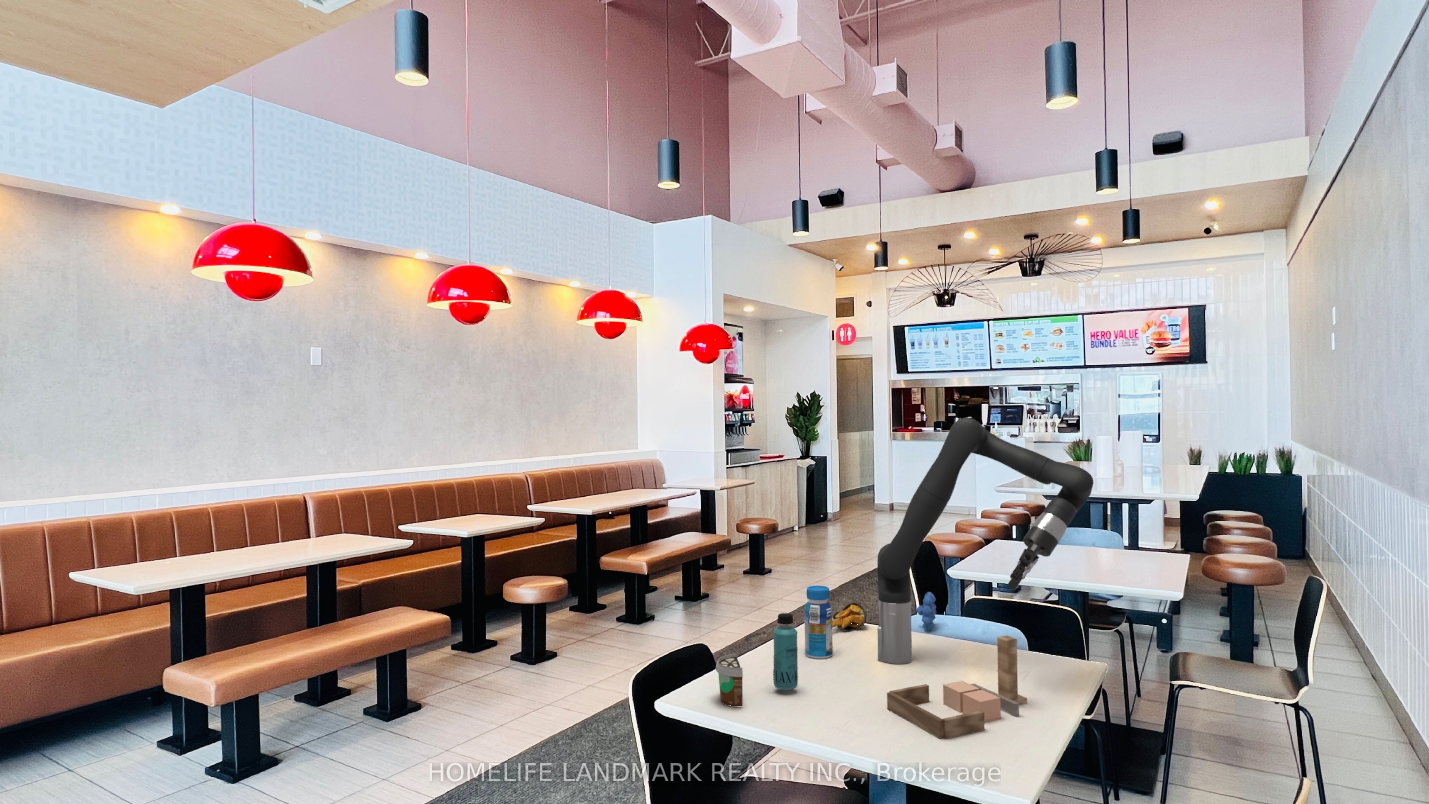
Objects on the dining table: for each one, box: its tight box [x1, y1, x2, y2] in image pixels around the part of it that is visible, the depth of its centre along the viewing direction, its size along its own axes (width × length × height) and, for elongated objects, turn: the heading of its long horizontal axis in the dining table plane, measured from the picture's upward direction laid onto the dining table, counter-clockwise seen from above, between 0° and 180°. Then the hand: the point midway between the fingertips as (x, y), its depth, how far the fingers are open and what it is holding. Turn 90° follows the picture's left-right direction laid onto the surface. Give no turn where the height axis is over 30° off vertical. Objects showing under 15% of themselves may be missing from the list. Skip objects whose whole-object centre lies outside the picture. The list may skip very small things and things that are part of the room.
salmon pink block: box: [962, 690, 1002, 723], centre depth 188 cm, size 6×6×5 cm
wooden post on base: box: [970, 634, 1028, 718], centre depth 196 cm, size 9×15×16 cm, turn 24°
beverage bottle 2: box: [803, 584, 834, 660], centre depth 236 cm, size 8×8×20 cm
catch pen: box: [886, 683, 985, 740], centre depth 187 cm, size 12×20×4 cm, turn 24°
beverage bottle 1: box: [772, 612, 799, 691], centre depth 206 cm, size 6×7×20 cm
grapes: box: [915, 591, 937, 632], centre depth 262 cm, size 12×7×12 cm, turn 155°
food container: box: [715, 653, 744, 707], centre depth 200 cm, size 12×6×10 cm, turn 5°
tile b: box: [942, 680, 979, 713], centre depth 194 cm, size 6×6×5 cm
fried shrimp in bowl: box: [832, 601, 867, 633], centre depth 261 cm, size 9×11×18 cm
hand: (1012, 583), depth 205 cm, fingers open, 8 cm apart
